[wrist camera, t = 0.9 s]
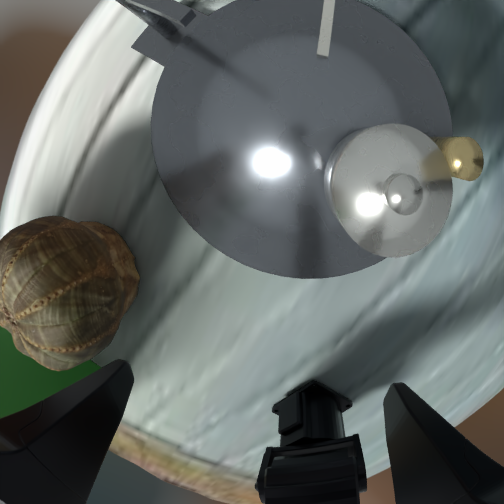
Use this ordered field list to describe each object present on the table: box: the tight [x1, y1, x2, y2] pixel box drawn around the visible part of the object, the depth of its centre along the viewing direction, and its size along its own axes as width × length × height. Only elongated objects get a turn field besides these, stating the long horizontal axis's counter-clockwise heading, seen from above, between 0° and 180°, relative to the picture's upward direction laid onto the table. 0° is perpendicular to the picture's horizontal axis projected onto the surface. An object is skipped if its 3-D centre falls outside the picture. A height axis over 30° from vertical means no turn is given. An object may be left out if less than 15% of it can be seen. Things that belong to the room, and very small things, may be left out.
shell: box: [0, 216, 140, 371], centre depth 17 cm, size 11×11×12 cm
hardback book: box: [0, 326, 101, 418], centre depth 18 cm, size 18×7×24 cm, turn 59°
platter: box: [151, 0, 484, 279], centre depth 14 cm, size 20×20×5 cm
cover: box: [324, 124, 453, 257], centre depth 14 cm, size 7×7×4 cm
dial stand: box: [116, 0, 208, 67], centre depth 11 cm, size 7×5×10 cm
